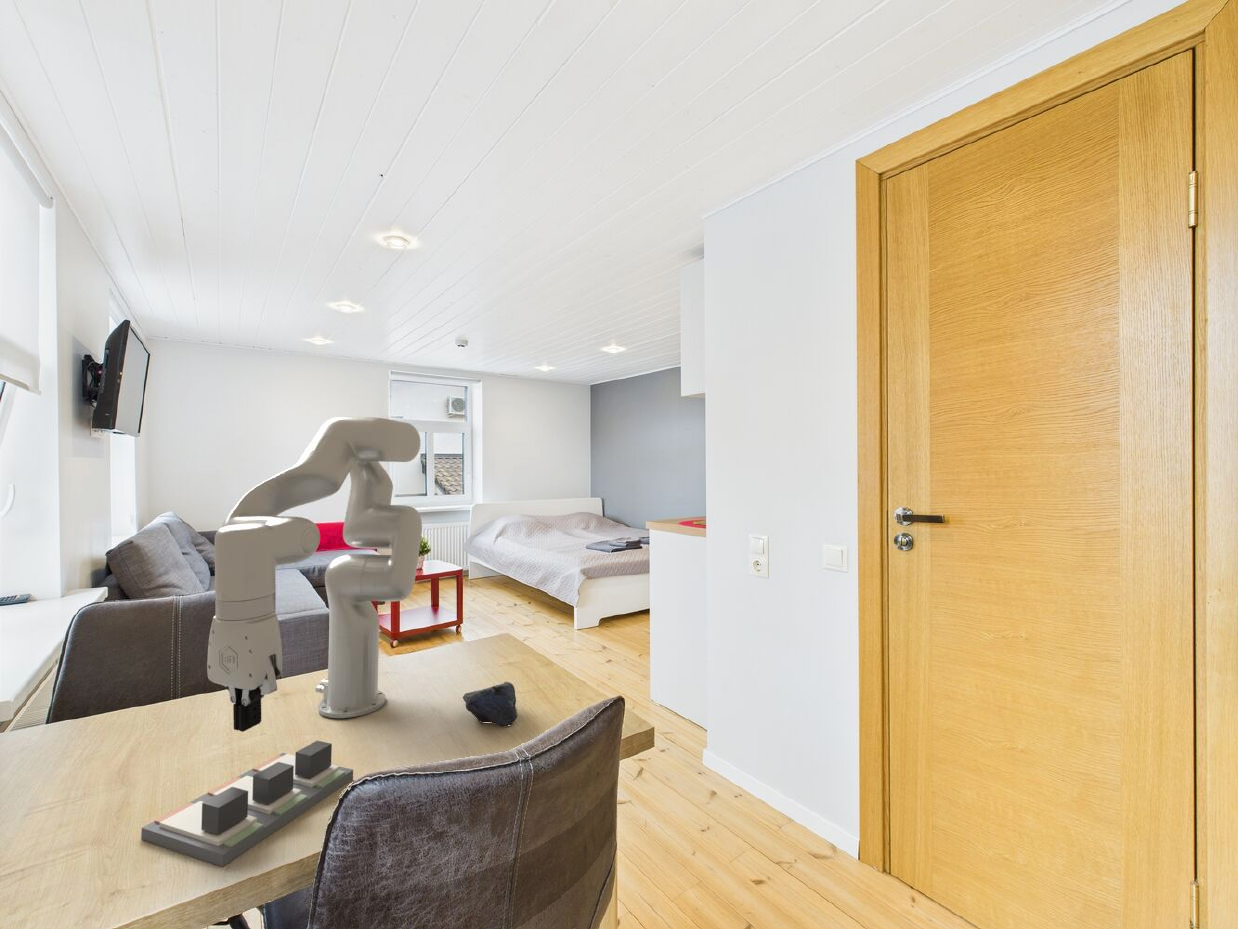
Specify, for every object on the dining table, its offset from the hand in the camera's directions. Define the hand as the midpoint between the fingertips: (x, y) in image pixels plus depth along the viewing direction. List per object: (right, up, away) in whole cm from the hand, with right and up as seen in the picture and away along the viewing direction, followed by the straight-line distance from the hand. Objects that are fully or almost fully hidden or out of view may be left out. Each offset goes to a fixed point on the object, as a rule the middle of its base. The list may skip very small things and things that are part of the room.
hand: (247, 726), depth 84 cm
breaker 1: (+4, -8, -10) cm, 14 cm away
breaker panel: (+3, -11, -3) cm, 11 cm away
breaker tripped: (+6, -8, -4) cm, 11 cm away
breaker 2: (+8, -8, +3) cm, 12 cm away
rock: (+29, -12, +28) cm, 42 cm away
